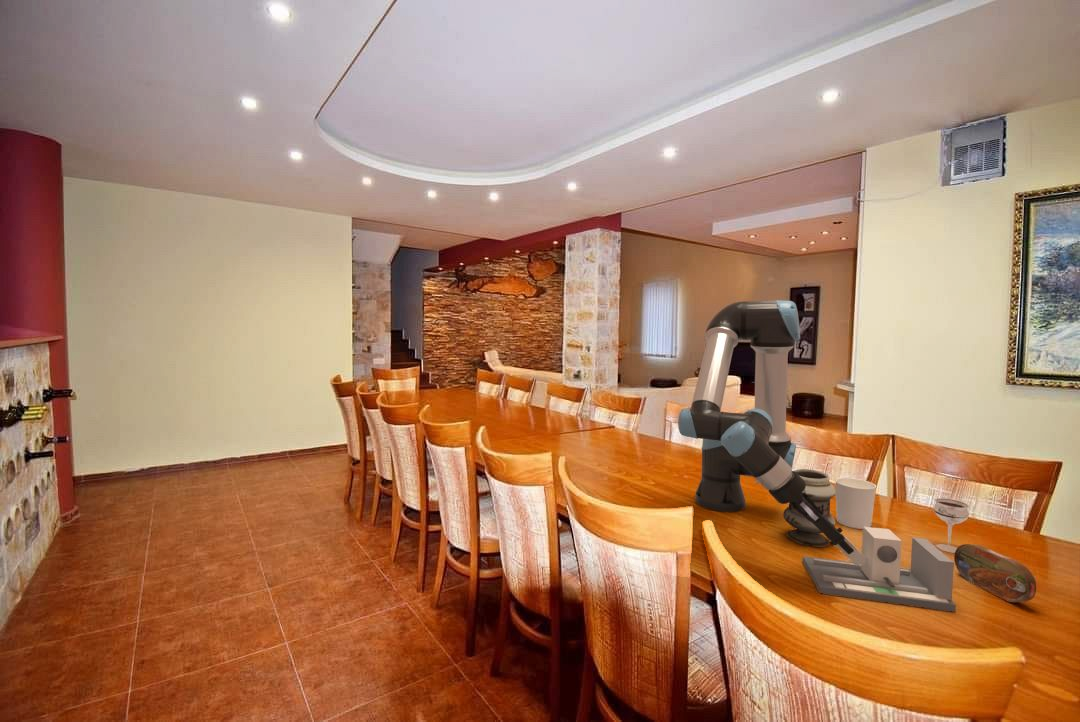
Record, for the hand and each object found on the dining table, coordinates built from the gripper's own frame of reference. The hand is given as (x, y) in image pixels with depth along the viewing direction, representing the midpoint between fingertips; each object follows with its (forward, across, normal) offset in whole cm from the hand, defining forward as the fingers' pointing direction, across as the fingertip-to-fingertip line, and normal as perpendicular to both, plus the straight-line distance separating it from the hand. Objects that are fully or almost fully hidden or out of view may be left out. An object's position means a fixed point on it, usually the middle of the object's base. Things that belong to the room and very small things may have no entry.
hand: (860, 561), depth 103 cm
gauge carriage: (+5, +2, 0) cm, 5 cm away
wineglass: (+24, -25, +16) cm, 39 cm away
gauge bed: (+5, 0, -2) cm, 6 cm away
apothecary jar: (0, -22, -7) cm, 23 cm away
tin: (+23, -5, +15) cm, 28 cm away
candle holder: (+11, -37, +4) cm, 39 cm away
